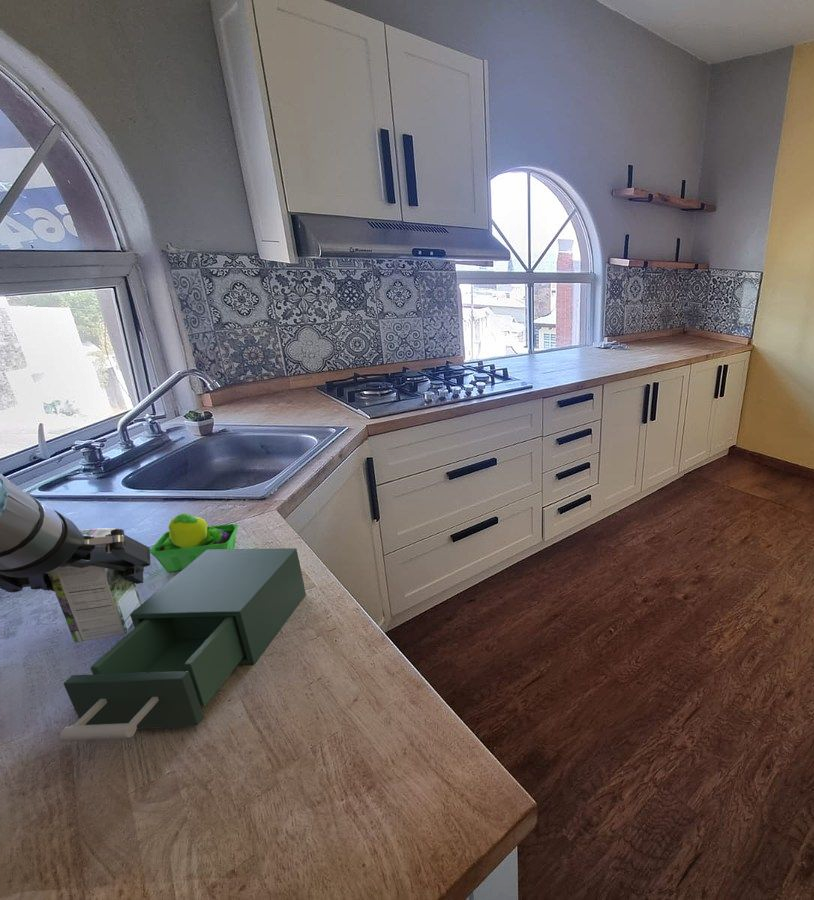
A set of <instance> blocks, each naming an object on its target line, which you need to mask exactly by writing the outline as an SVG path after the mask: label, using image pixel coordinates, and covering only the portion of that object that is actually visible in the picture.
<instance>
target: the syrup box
mask: <svg viewBox="0 0 814 900" xmlns="http://www.w3.org/2000/svg"><path fill="white" fill-rule="evenodd" d="M115 529H118V528H116V527H100V528H99V527H98V528H87V529H79V531H80V532H81V533H86V534H91V535H93V536H94V537H95V538H96V537H106V534H111V531H112V530H115ZM47 573H48V575H49V578H50V581H51V583H52V586H53V588H54V591H55V592H54V591H53V592H54V593H55V596H56V599H57V601H58V604H59V607H60V609H61V612H62V613H63V616H64V618H65V622H66V623H67V627H68V629H69V631H70V634H71V636H72V639H73V642H74V643H83V642H89V641H94V640H100V639H107V638H110V637H116V636H122V635H127V634H128V633H129V630H130V629H131V628H132V626H133V622H132V619H131V616H130V614H131V613H132V612H133V611H134V610H135V609H137V608H138V607H139V606H140V605H141V604H142V601H141V597H140V595H139V592H138V589H137V584H136V583H134V582H132V581H130V580H128V579H126V578H125V577H123V576H121V575H119V570H115V569H109V568H102V567H96V566H87V567H84V568H79V567H72V566H66V567H57V568H56V569H54V570H52V571H50V572H47Z"/></svg>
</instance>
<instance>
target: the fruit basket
mask: <svg viewBox="0 0 814 900" xmlns="http://www.w3.org/2000/svg"><path fill="white" fill-rule="evenodd" d="M238 527H239V525H238V523H228V524H219V525H211V526H208V522H207V521H206V520H205V519H204V518H202V517H199V516H193V515H191V514H190V513H179V514H178V515H176V516H175V517H173V518H172V519H171V520H170V522H169V524H168V531H166V532H164V533H163V534H162V535H161V536H160V537H159V539H158V540H157V541H156V543H155V544H153V546H152V547H151V548H150V555H152V556H153V557H155V559H156V560H157V561H158V562H159V564H160V565H161V566H162V567H163V569H164V570H165V571H166V572H167V573H172V572H173V573H174V572H178V571H179V572H180V571H182V570H183V569H184V568H186V567H187V566H188V565H189V564H190V563H192V562H193V561H194V560H195V559H196V558H198V557H199V556H200V555H201V554H202V553H204V552H205V551H206V550H212V549H236V542H237V541H236V540H237V531H238Z"/></svg>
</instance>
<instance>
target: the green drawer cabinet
mask: <svg viewBox="0 0 814 900" xmlns="http://www.w3.org/2000/svg"><path fill="white" fill-rule="evenodd" d="M300 563H301V562H300V558H299V554H298V548H296V547H294V548H292V547H289V548H235V549H212V550H206V551H205V552H204V553H202V554H201V555H200V556H199V557H198V558H196V559H195V560H194V561H193V562H192V563H190V564H189V565H188V566H187V567H186V568H184V569H183V570H180V571H179V572H178V573H177V574H176V575H175V576H173V577H172V578H171V579H170V580H168V582H166V583H165V584H164V585H162V586H161V587H160V588H159V589H158V590H157V591H156V592H154V593H153V594H152V595H151V596H150V597H148V598H147V599H146V600H145V601H143V602H142V603H141V605H140V606H139V607H138V608H137V609H135V610H134V611H133V612H132V613H131V614H130V616H131V619H132V622H133V624H132V626H133V627H134V628H135V627H136V626H138V625H139V624H140V623H141V622H142V621H143V620H144V619H146V618H183V617H221V616H235V617H236V621H237V624H238V628H239V632H240V635H241V639H242V643H243V646H244V650H245V656H244V657H243V658H242V659H241V661H240V662H239V663H238V665H237V666H254V665H256V663H257V662H258V660H259V659H260V658H261V656H262V655H263V654H264V652H265V651H266V650H267V649H268V647H269V646H270V644H271V643H272V642H273V640H274V639H275V638H276V636H277V635H278V633H279V632H280V631H281V629H282V628H283V627H284V625H285V624H286V623H287V622H288V620H289V618H290V617H291V616H292V614H293V613H294V612H295V611H296V609H297V608H298V607H299V605H300V603H301V602H302V601H303V599H304V598H305V597H306V596H307V593H306V588H305V583H304V578H303V572H302V569H301V564H300Z"/></svg>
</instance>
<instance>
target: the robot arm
mask: <svg viewBox="0 0 814 900" xmlns="http://www.w3.org/2000/svg"><path fill="white" fill-rule="evenodd" d="M79 530H80V529H79V528H78V527H77V525H76V524H75V523H74V522H73V521H72V520H71V519H70V518H68V517H66V516H64V515H63V514H62V513H60V512H59V511H57V510H55V509H53V508H51V507H50V506H49V505H47V504H45V503H43V502H42V501H41V500H39V499H37V498H36V497H34V496H33V495H31V494H30V493H28V492H26V491H25V490H23V489H22V488H20V487H19V486H18V485H16V484H15V483H14V482H12V481H10V480H9V479H8V478H7V477H5V476H4V475H3V474H2V472H0V589H1V590H2V591H5V592H6V593H7V592H8V593H12V594H14V593H18V592H22V591H23V588H27V587H30V589H31V590H35V591H36V590H43V591H47V592H50V591H51V592H54V593H55V591H54V588H53V586H52V583H51V581H50V578H49V575H48V573H47V572H50V571H52V570H54V569H56V568H57V567H66V566H72V567H79V568H84V567H87V566H96V567H102V568H109V569H115V570H119V575H121V576H123V577H125V578H126V579H128V580H130V581H132V582H134V583H135V585H138V584H139V585H140V584H144V571H145V568H146V567H149V566H151V553H150V549H151V548H150V547H149V546H148V545H145V544H143V543H142V542H139V541H138V540H136V539H134V538H133V537H130V536H128V535H126V534H125V530H124V529H123V528H117V529H115V530H112V531H111V534H106V537H96V538H95V537H94V536H93V535H91V534H86V533H81V532H80V531H79Z"/></svg>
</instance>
